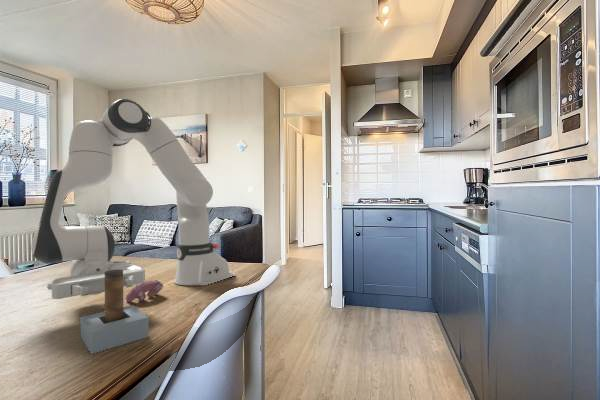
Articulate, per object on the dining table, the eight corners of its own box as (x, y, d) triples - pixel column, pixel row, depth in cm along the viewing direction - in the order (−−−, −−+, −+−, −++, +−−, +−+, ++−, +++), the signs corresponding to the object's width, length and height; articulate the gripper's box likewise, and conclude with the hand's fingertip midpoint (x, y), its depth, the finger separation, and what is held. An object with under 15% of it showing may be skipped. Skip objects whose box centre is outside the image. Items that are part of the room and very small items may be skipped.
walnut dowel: (121, 331, 72) (120, 268, 71) (125, 336, 69) (125, 271, 69) (103, 336, 69) (102, 271, 69) (107, 342, 66) (106, 274, 66)
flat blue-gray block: (133, 322, 77) (133, 304, 77) (148, 336, 69) (148, 317, 69) (80, 336, 69) (80, 317, 69) (91, 354, 61) (90, 332, 61)
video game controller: (131, 309, 90) (137, 290, 88) (123, 300, 92) (129, 281, 90) (161, 299, 99) (167, 281, 97) (153, 291, 101) (159, 273, 99)
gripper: (45, 272, 75) (53, 283, 66) (135, 260, 90) (152, 267, 80) (46, 297, 76) (53, 312, 66) (135, 281, 90) (152, 291, 80)
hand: (108, 287), depth 73 cm, fingers open, 8 cm apart
